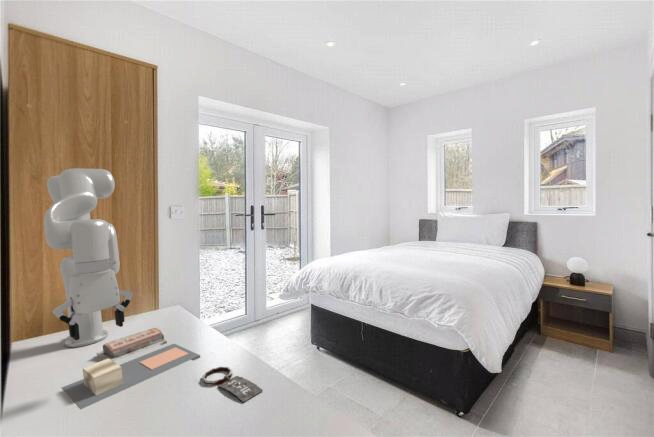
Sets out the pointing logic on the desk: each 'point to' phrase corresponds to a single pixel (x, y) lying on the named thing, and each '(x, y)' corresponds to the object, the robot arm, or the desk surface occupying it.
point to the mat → (133, 373)
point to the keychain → (233, 384)
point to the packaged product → (131, 344)
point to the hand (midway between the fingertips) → (98, 331)
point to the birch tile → (102, 376)
